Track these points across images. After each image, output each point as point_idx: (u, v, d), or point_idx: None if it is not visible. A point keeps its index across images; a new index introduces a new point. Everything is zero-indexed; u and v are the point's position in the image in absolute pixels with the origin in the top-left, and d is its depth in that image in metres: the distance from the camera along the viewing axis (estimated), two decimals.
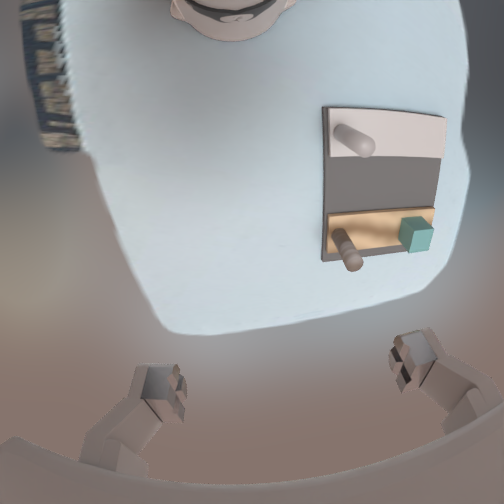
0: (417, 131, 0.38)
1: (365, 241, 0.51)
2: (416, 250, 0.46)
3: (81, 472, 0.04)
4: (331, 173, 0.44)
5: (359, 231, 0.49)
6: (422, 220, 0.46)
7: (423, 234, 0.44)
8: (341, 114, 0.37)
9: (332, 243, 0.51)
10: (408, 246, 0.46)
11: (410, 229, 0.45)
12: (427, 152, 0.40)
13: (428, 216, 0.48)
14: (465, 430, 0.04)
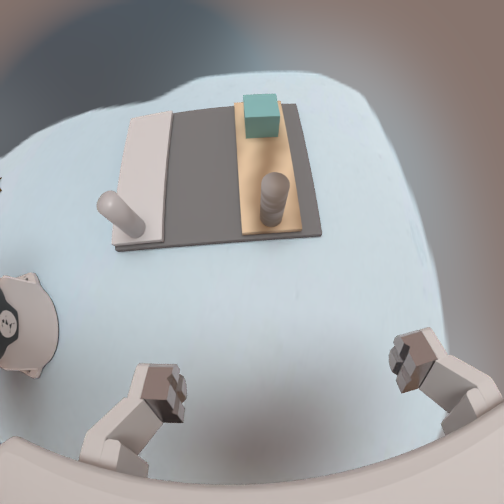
0: (141, 145, 0.41)
1: None
2: (276, 107, 0.36)
3: (81, 472, 0.04)
4: (187, 236, 0.38)
5: None
6: None
7: (251, 105, 0.36)
8: (117, 230, 0.37)
9: (285, 223, 0.37)
10: (271, 118, 0.36)
11: (248, 123, 0.37)
12: (164, 129, 0.41)
13: None
14: (465, 430, 0.04)
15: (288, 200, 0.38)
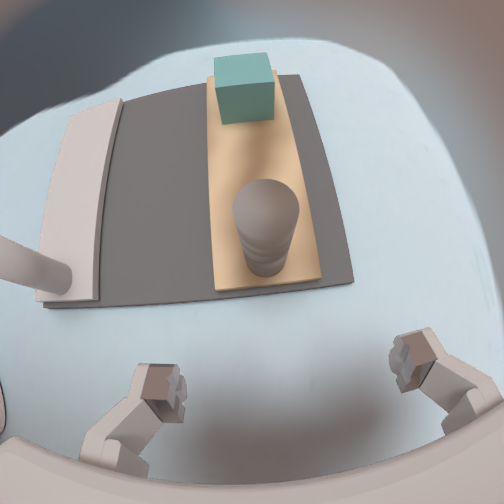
0: (75, 151, 0.25)
1: None
2: (267, 70, 0.20)
3: (81, 472, 0.04)
4: (131, 292, 0.22)
5: None
6: None
7: (225, 69, 0.20)
8: None
9: (291, 269, 0.21)
10: (260, 87, 0.20)
11: (223, 98, 0.21)
12: (106, 124, 0.26)
13: None
14: (465, 430, 0.04)
15: (295, 226, 0.21)
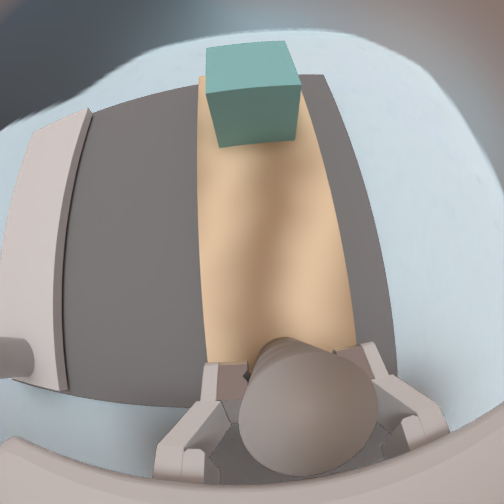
0: (32, 183, 0.18)
1: (311, 252, 0.15)
2: (287, 66, 0.13)
3: (81, 472, 0.04)
4: (104, 387, 0.15)
5: (270, 287, 0.15)
6: None
7: (223, 64, 0.13)
8: None
9: None
10: (279, 92, 0.13)
11: (219, 109, 0.14)
12: (68, 145, 0.19)
13: None
14: (465, 430, 0.04)
15: (329, 316, 0.14)
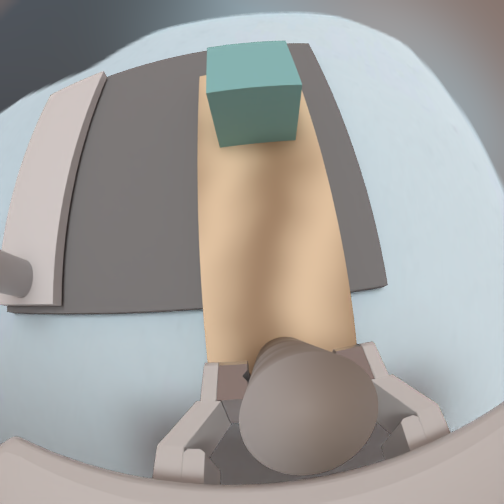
0: (49, 130, 0.20)
1: (312, 252, 0.15)
2: (288, 66, 0.13)
3: (81, 472, 0.04)
4: (98, 297, 0.16)
5: (270, 287, 0.15)
6: None
7: (224, 64, 0.13)
8: None
9: None
10: (279, 92, 0.13)
11: (219, 108, 0.14)
12: (85, 98, 0.20)
13: None
14: (465, 430, 0.04)
15: (329, 316, 0.14)
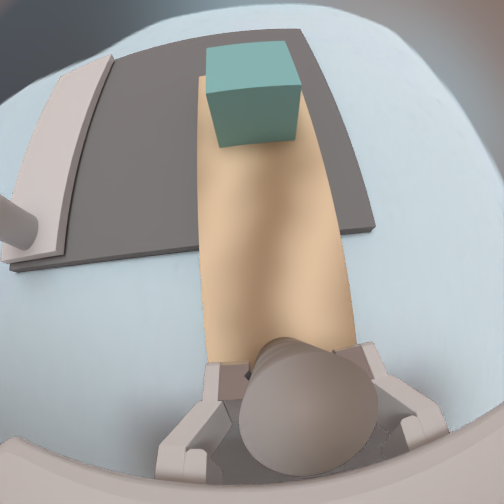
0: (60, 105, 0.21)
1: (312, 252, 0.15)
2: (288, 66, 0.13)
3: (81, 472, 0.04)
4: (99, 243, 0.17)
5: (270, 287, 0.15)
6: None
7: (223, 64, 0.13)
8: None
9: None
10: (279, 92, 0.13)
11: (219, 109, 0.14)
12: (94, 77, 0.21)
13: None
14: (465, 430, 0.04)
15: (329, 316, 0.14)
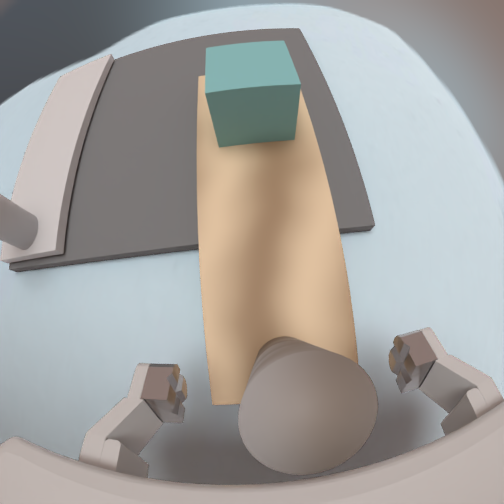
0: (59, 105, 0.21)
1: (311, 251, 0.15)
2: (287, 66, 0.13)
3: (81, 472, 0.04)
4: (99, 242, 0.17)
5: (270, 286, 0.15)
6: None
7: (223, 64, 0.13)
8: None
9: None
10: (278, 92, 0.13)
11: (218, 108, 0.14)
12: (94, 76, 0.21)
13: None
14: (465, 430, 0.04)
15: (328, 316, 0.14)
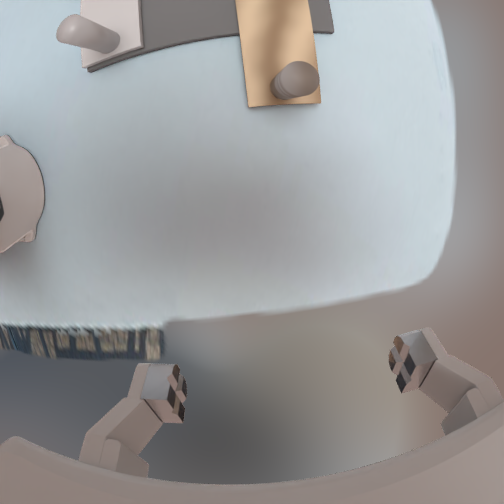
0: None
1: (298, 39, 0.23)
2: None
3: (81, 472, 0.04)
4: (171, 36, 0.23)
5: (277, 52, 0.24)
6: None
7: None
8: (87, 51, 0.21)
9: (301, 96, 0.26)
10: None
11: None
12: None
13: None
14: (465, 430, 0.04)
15: None
